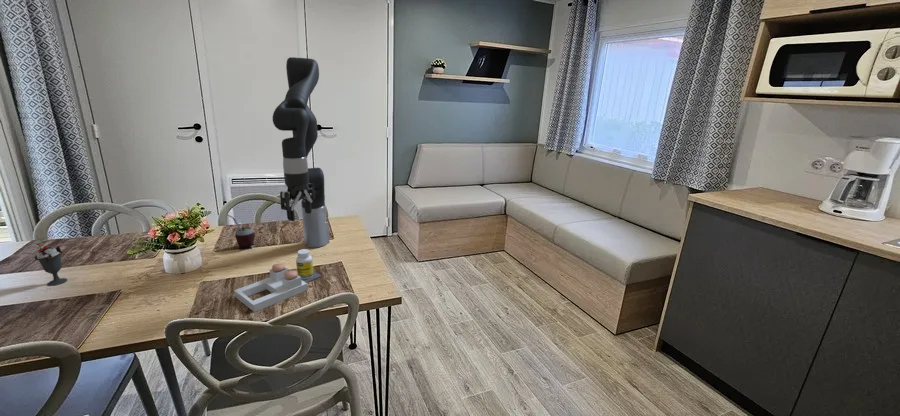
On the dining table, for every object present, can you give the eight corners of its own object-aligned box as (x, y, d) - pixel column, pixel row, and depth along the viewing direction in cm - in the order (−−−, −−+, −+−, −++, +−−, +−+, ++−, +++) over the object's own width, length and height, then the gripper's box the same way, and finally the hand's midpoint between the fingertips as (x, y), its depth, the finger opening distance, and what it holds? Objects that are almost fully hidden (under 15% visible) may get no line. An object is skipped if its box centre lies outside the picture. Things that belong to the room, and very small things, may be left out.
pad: (309, 269, 146) (309, 268, 145) (322, 276, 141) (321, 275, 141) (289, 277, 140) (289, 276, 140) (301, 284, 135) (301, 283, 135)
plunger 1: (282, 272, 137) (281, 262, 136) (288, 275, 134) (287, 265, 133) (271, 276, 134) (269, 266, 133) (277, 279, 132) (275, 269, 130)
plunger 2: (294, 279, 132) (293, 269, 131) (300, 283, 130) (299, 273, 129) (283, 283, 129) (282, 273, 128) (289, 288, 127) (288, 277, 126)
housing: (287, 277, 140) (286, 263, 138) (307, 289, 132) (306, 275, 130) (235, 297, 126) (233, 282, 124) (254, 312, 118) (252, 296, 117)
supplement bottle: (296, 280, 137) (293, 254, 134) (299, 272, 142) (297, 248, 139) (312, 279, 138) (309, 254, 135) (314, 272, 143) (312, 247, 140)
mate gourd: (259, 246, 164) (255, 212, 160) (241, 252, 158) (236, 217, 153) (249, 242, 168) (244, 209, 163) (231, 248, 162) (225, 214, 157)
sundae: (40, 288, 127) (25, 246, 123) (48, 279, 133) (35, 239, 128) (66, 284, 130) (54, 243, 126) (73, 276, 136) (61, 236, 131)
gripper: (290, 176, 121) (295, 225, 126) (319, 167, 133) (322, 212, 138) (270, 173, 123) (276, 221, 128) (301, 165, 136) (304, 209, 141)
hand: (300, 216), depth 133 cm, fingers open, 8 cm apart
